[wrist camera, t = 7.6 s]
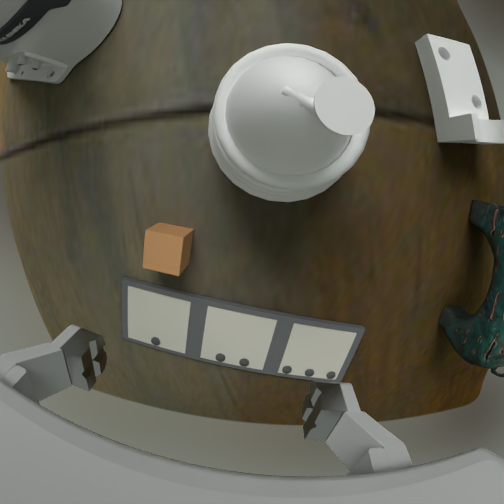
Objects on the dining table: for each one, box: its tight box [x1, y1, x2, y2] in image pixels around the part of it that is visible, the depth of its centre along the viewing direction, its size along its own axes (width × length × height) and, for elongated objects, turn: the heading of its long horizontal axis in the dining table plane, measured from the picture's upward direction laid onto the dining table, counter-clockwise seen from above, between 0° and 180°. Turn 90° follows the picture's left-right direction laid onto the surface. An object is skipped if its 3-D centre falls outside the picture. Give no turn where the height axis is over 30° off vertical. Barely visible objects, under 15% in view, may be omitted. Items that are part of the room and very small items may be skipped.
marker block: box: [143, 222, 194, 276], centre depth 29 cm, size 4×4×4 cm
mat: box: [121, 276, 365, 383], centre depth 33 cm, size 30×9×1 cm, turn 78°
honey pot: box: [208, 43, 375, 202], centre depth 18 cm, size 13×13×18 cm
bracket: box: [415, 34, 504, 144], centre depth 20 cm, size 13×7×8 cm, turn 9°
